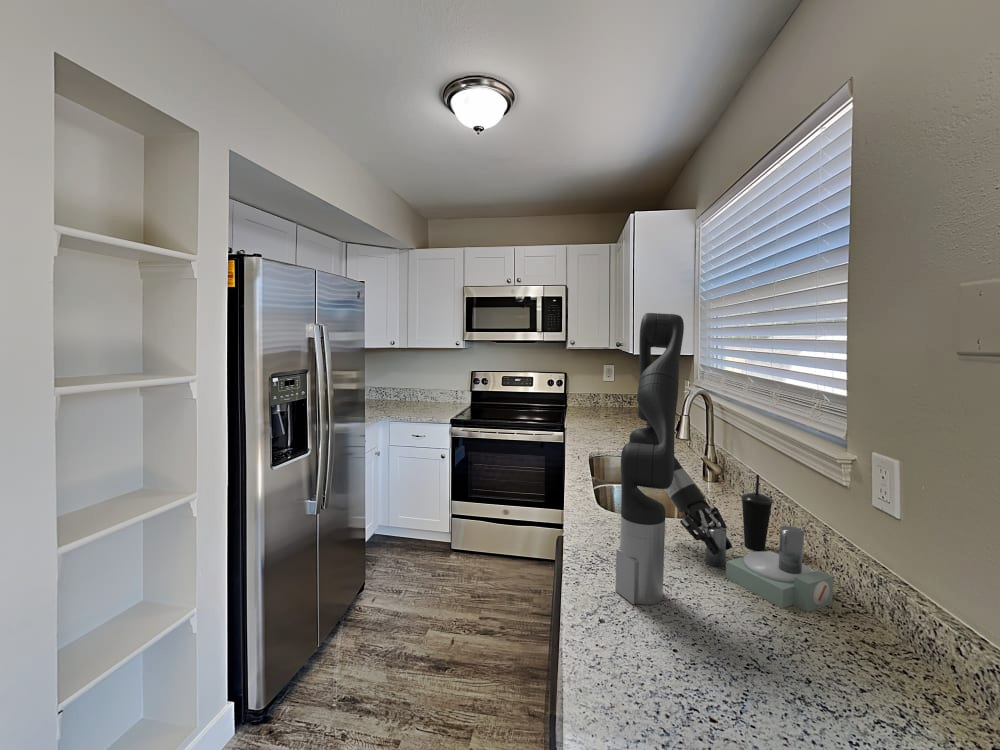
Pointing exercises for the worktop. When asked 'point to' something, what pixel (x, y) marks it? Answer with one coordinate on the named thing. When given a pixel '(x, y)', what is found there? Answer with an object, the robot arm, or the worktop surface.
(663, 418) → the robot arm
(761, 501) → the drinking cup
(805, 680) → the worktop surface
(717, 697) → the worktop surface
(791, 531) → the steel weight
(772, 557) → the kitchen scale
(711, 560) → the steel weight
